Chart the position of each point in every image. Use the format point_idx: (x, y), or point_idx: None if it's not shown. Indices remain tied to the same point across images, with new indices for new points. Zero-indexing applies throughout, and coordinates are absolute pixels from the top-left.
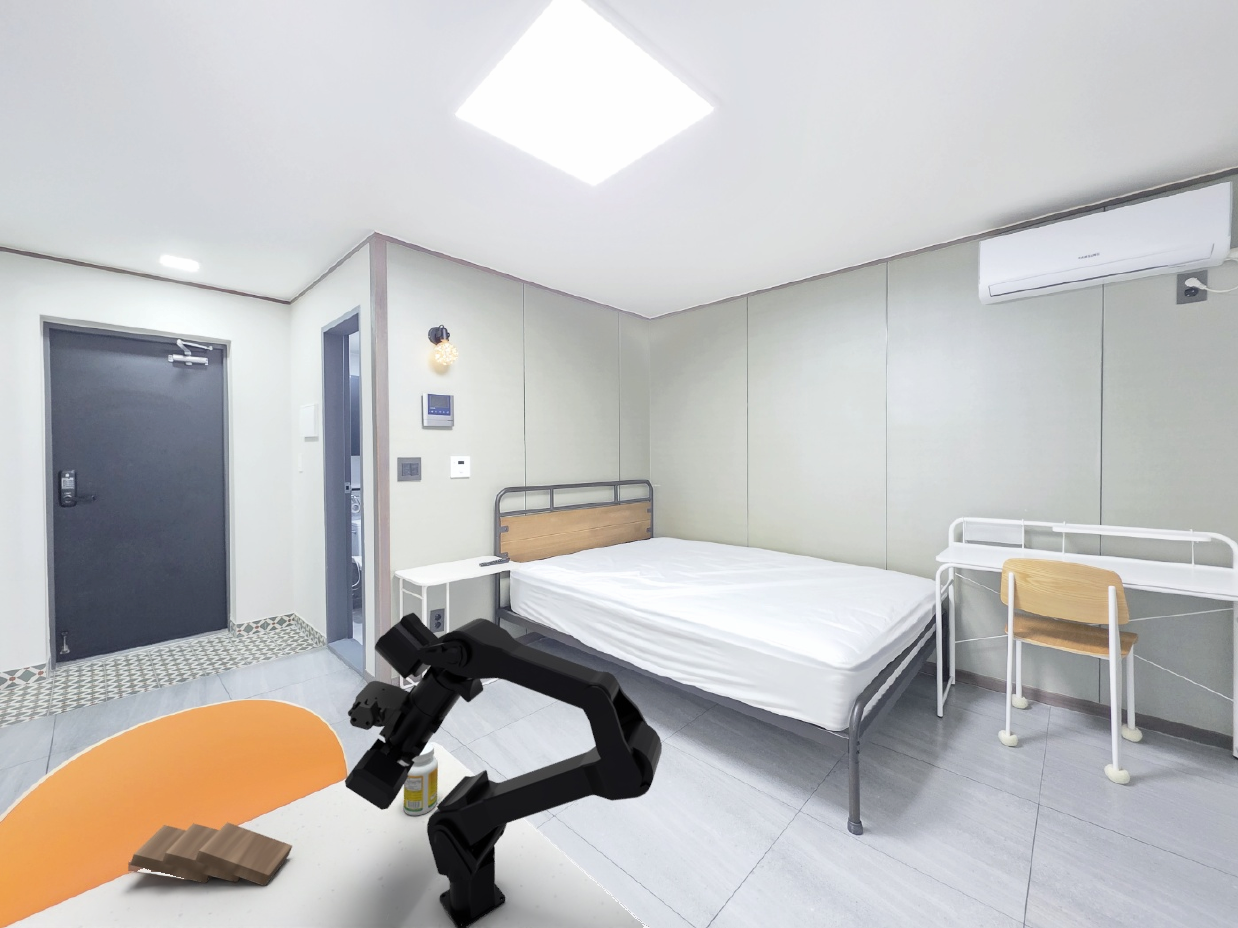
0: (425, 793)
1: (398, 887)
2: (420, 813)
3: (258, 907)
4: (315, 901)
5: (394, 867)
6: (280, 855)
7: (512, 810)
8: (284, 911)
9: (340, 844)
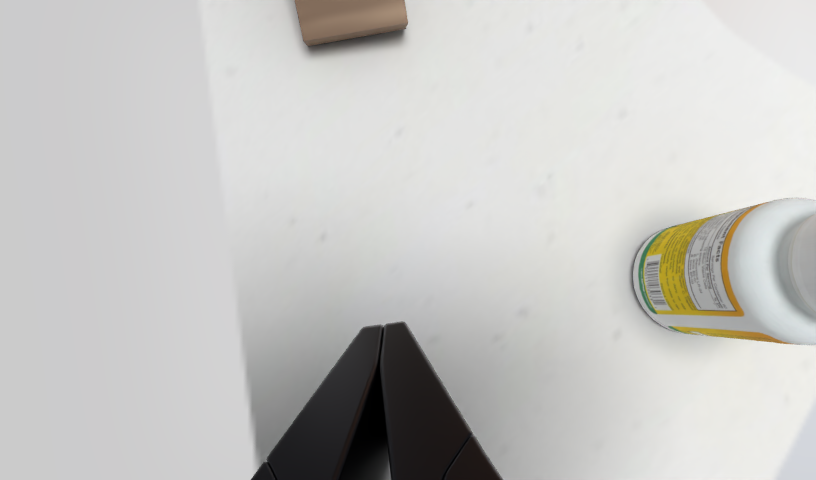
0: (695, 321)
1: None
2: (643, 307)
3: (243, 84)
4: (280, 217)
5: None
6: (365, 19)
7: None
8: (240, 160)
9: (477, 139)
